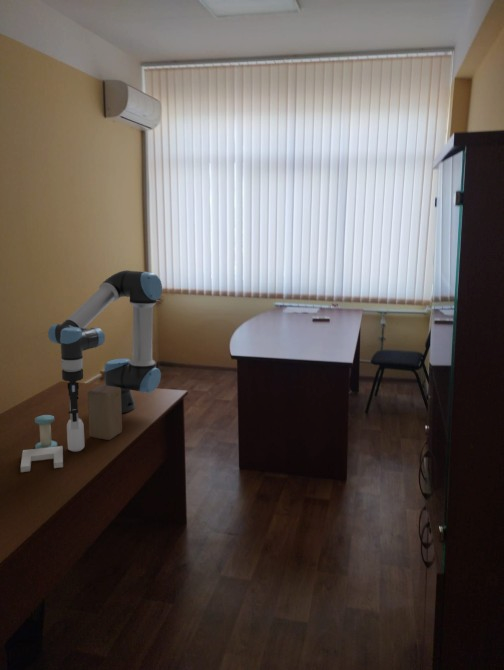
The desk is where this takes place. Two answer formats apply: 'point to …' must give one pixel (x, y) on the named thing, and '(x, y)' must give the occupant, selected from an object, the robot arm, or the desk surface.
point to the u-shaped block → (42, 456)
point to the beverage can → (75, 436)
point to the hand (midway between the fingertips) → (74, 422)
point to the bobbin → (45, 431)
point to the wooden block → (105, 412)
